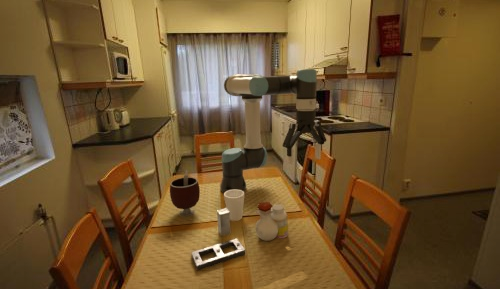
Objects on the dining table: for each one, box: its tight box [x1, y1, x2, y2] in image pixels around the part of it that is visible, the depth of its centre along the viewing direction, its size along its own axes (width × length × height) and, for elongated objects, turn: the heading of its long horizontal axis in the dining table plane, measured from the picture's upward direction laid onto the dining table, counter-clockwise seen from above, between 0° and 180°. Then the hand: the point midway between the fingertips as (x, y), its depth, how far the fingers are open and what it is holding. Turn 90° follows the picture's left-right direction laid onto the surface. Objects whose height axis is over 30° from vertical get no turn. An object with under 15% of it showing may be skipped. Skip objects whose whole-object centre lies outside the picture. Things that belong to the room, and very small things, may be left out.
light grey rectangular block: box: [216, 207, 232, 237], centre depth 107 cm, size 4×4×11 cm
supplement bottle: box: [271, 204, 289, 239], centre depth 105 cm, size 7×7×13 cm
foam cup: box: [223, 189, 246, 222], centre depth 119 cm, size 10×9×13 cm
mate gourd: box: [169, 169, 201, 218], centre depth 125 cm, size 16×14×20 cm
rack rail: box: [190, 238, 246, 272], centre depth 93 cm, size 8×18×3 cm, turn 116°
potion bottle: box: [254, 201, 279, 242], centre depth 102 cm, size 9×10×15 cm
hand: (304, 161), depth 106 cm, fingers open, 13 cm apart
